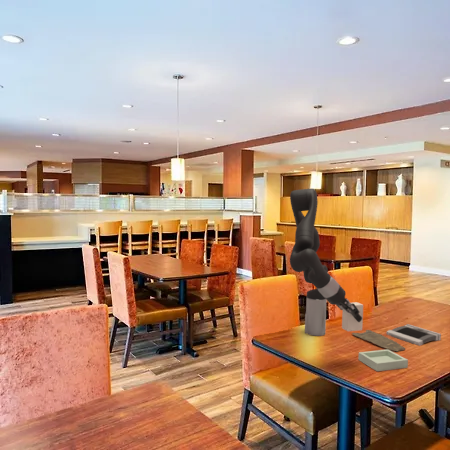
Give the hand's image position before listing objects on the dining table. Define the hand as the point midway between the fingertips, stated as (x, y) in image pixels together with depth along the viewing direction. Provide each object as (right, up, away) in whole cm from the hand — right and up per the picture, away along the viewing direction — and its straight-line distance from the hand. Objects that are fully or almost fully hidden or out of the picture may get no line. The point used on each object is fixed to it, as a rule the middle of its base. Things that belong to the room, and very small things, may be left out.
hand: (356, 318), depth 156 cm
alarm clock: (+37, -17, +31) cm, 51 cm away
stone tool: (+18, -17, +24) cm, 35 cm away
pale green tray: (+10, -18, 0) cm, 20 cm away
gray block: (-2, -4, 0) cm, 5 cm away
